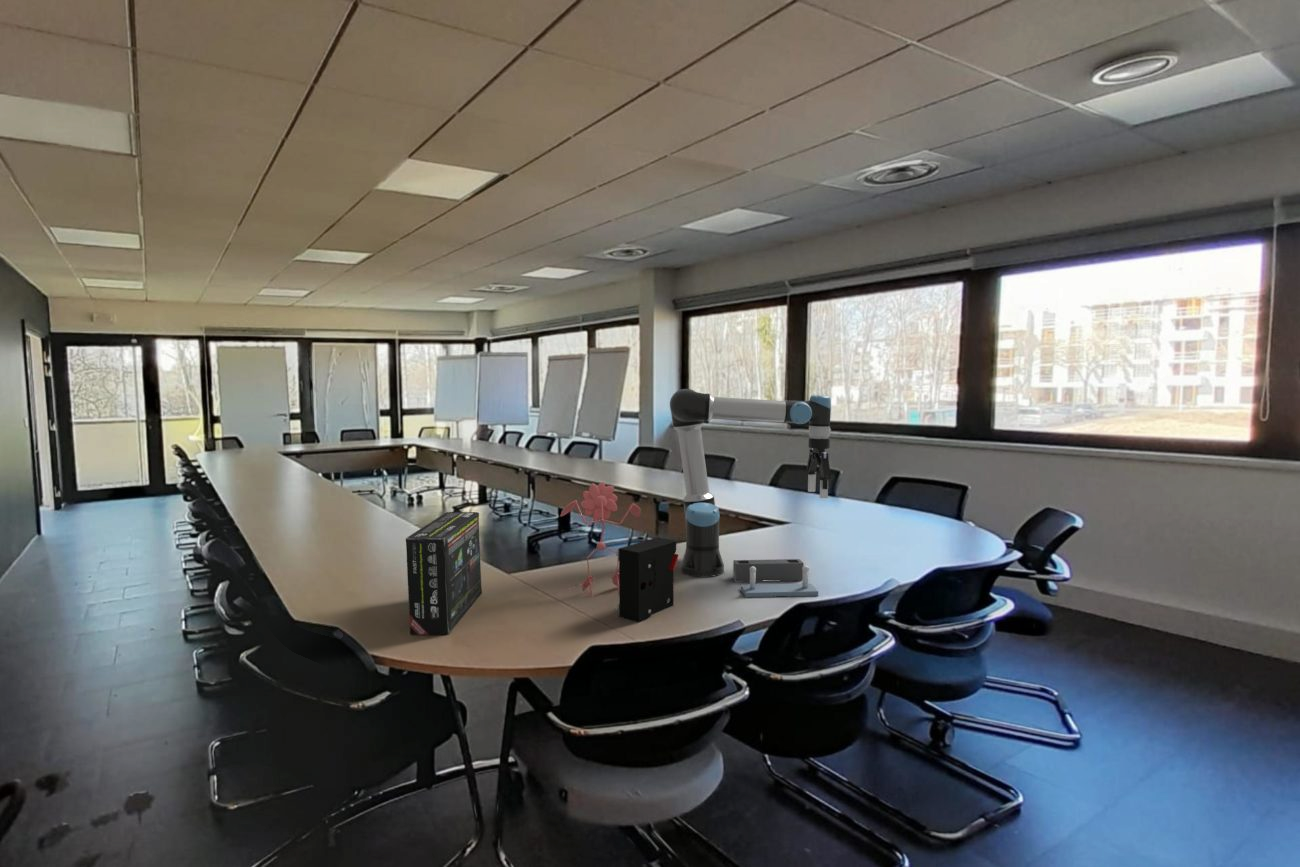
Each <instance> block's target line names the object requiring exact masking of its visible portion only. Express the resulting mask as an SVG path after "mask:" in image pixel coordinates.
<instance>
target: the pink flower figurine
mask: <svg viewBox="0 0 1300 867" xmlns="http://www.w3.org/2000/svg"><path fill="white" fill-rule="evenodd" d="M614 491H615V487H614V486H613V485H607V486H606V483H605V482H600V483H599V484H598V485H596V484H595V483H593V482H592V483H591V484H590V485H589V489H588V491H587V490H584V491H583V492H582V495H583V498H584V500H582V501H581V503H580V506H581V507H582V508H584V509H585V510H584V514H583V513H582V511H581V508H580V506H579V504H578V500H577V499H575V500H574V501H571V502H569V503H568V504H566V506H565V507H564V508H563V509H562V510H561V513H560V517H561V518H562V517H564V516H566V515H567V514H569V513H570V512H571V511H572V510H573V509H574V508H575V507H577V510H578V512H579V514H580V516H581V518H582V521H583V523H584V525H586V526H587V525H590V524H594V523H599V522H600V523H601V524H602V529H601V536H600V540H599V542H598V543H597V545H596V548H594V549H593V551H592V552H591V553H590V554H589V555H588V556H587V558H586V560H587V561H586V562H587V577H586V578H585V579H584V581H583V582H582V583H581V584H576V585H574V586H572V587H570V588H569V590H571V589H573V588H575V587H577V586H581V591H582V592H585V591H586V590H587V589H588V588H589V589H590V596H591V597H593V596H594V594H593V593H594V592H593V585H592V584H593V583H596V581H594V582H593V579H594V576H593V575H590V566H589V563H590V562H589V558H590V557H591V556H592V554H594V552H596V551H597V550H598V551H604V550H605V549H607V550H609V551H612V552H614V553H615V554H616V552H617V550H616V551H615V550H613V549H611V548H609V547H607V546H606V544H605V543H604V542H603V541H602V540H603V538H604V537H603V536H604V531H605V528H606V527H605V525H606V524H605V523H609V524H614V525H618V526H621V524H622V523H623V522H624V521H625V519H626V517H627V516H628V514H629V513H630V514H632V515H633V516H634V517H636V518H639V517H640V515H641V513H642V509H641V507H640V506H638V505H637V504H635V503H634V502H633V503H631V504H630V505H629V507H628V510H627V511H626V513H625V514H624V515H623V518H621V521H620V522H615V521H611V520H608V519H609V518H610V516H611V512H616V511H618V506H617V503H616V502H617V501H618V499H619V498H618V496H617V495H616V494H615V493H614ZM584 516H586V517H591V516H592V519H593V520H592V521H589V522H586V519H585V518H584ZM611 582H612V583H613V585H615V586H616V587H617V589H618V592H619V561H618V560H617V563H616V572H615V573H613V574H612V577H611Z"/></svg>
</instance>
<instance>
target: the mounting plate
mask: <svg viewBox="0 0 1300 867" xmlns="http://www.w3.org/2000/svg"><path fill="white" fill-rule="evenodd" d="M802 570H803V580H801V581H802V583H781V584H780V583H778V584H777V583H776V584H775V583H773V584H769V583H768V584H756V582H757V581H756V568H755V567H754V566H752V567H750V569H749V571H750V581H749V584H741V585H740V590H742V591H741V593H742V594H743V593H744V594H743V595H744V596H745V598H746V597H747V598H777V597H776V596H793V597H819V590H818V589H817V588H816V587H814V585H813V584H812V583H809V571H810V567H809V566H808V565H807V564H806V565H805V564H804V566H803V567H802ZM773 596H774V597H773Z"/></svg>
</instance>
